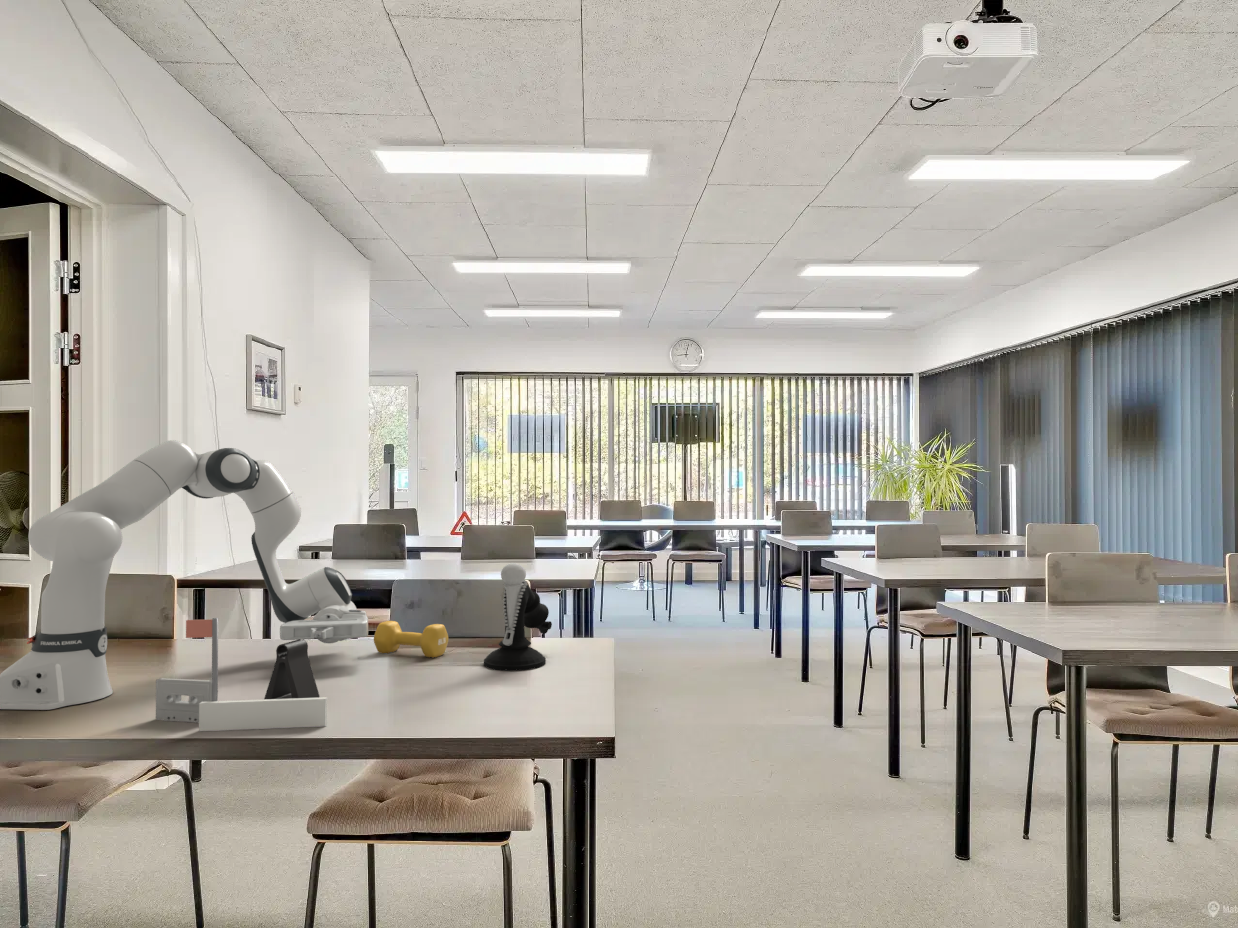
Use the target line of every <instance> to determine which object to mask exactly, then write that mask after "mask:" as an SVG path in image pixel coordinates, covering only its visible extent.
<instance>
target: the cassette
mask: <svg viewBox="0 0 1238 928" xmlns="http://www.w3.org/2000/svg"><path fill="white" fill-rule="evenodd" d="M182 696H188V700H182ZM208 701H212V679H211V680H208V679H207V680H206V679H191V678H190V679H186V678H185V679H184V678H165V677H161V678H158V679H156V681H155V720H156V721H163V722H164V721H165V722H184V723H196V724H197V723H198V724H199V703H201V702H208Z"/></svg>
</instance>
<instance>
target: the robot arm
mask: <svg viewBox="0 0 1238 928" xmlns="http://www.w3.org/2000/svg"><path fill="white" fill-rule="evenodd" d="M181 489H182V490H184V491H186V492H187V493H188V494H190V495H192V496H193V497H196V498H199V499H200V498H201V499H205V500H206V499H213V498H219V497H225V496H228V495H231V494H234V495H237V496H238V497H239V498H240V499H242V501H243V502H244V504H245V505H246V508H247V509H248V511H249V512H250V514H251V515H252V518H253V521H254V532H253V533H252V534H251V537H250V538H251V539H250V540H251V546H252V550H253V553H254V556H255V559H256V562H257V565H258V566H259V570H260V572H261V576H262V578H263V581H264V584H265V586H266V589H267V591H268V595H269V598H270V602H271V605H272V609H273V613H274V615H275V617H276V618H277V619H278V620H279V622H280V623H281V622H282V623H283V624H280V626H279V639H280V640H282V641H295V640H299V639H300V640H303V639H304V640H318V641H319V642H322V643H324V644H334V643H338V642H343V641H346V640H350V639H358V638H367V637H368V635H369V617H368V614H367V612H366V611H365V610H359V609H357V606H356V605H355V603H354V602H353V601H352V597H353V593H352V590H351V587H350V584H349V582H348V581H347V579H346V577H345V576H344V575H343V574H342V572H340V571H338V570H337V569H334V568H332V567H328V566H327V567H326V566H324V567H323V568H321V569H318V570H317V571H314V572H312V573H310V574H308V575H307V576H305V577H302V578H300V579H298V580H297V581H295V582H291V583H287V582H286V581H285V578H284V575H283V572H282V569H281V568H280V567H281V566H280V565H279V561H278V558H277V549H278V548H279V546H280V545H281V544H282V542H283V541H285V539H287V538H288V536H289V535H290V534H292V532H293V531H294V529H296V528H297V525H298V524H299V522H300V519H301V517H302V508H301V505H300V502H299V500H298V498H297V497H296V495H295V493H294V491H293V490H292V488H291V486H290V484H289V483H288V482H287V480H286V478H284V476H283V475H282V473H281V472H280V471H279V470H278V468H276V466H274V464H273V463H271V462H270V461H268V460H265V459H259V460H255V459H253V458H252V457H250V455H248V454H247V453H245V452H244V451H242V450H240V449H238V448H234V447H233V448H232V447H223V448H218V449H217V450H212V451H207V452H205V453H200V454H199V453H196V452H194V451H193V449H192V448H191V447H190V446H189V445H188V444H186V443H184V442H182V441H179V440H175V439H172V440H167V441H164V442H162V443H159V444H158V445H155V446H154V447H152V448H150V449H148V450H146V451H145V452H143V453H142V454H140V455H138V456H136V457H135V458H134V459H132V460H131V461H130V462H129V463H127V464H125V466H123V467H122V468H120V469H119V470H117V471H116V472H114V474H112V475H111V476H110V477H108V478H107V479H105V480H104V481H102V482H101V483H99V484H97V485H96V486H94V487H92V488H91V489H89V490H86V491H85V492H82V493H81V494H80V495H78V496H76V497H74V498H73V499H71V500H69V501H67V502H65V503H64V504H63V505H60V506H59V507H57V508H56V509H54V510H53V511H51V512H49V513H47V514H45V515H43V516H41V517H39V518H38V519H37V520H35V522H33V523H32V525H31V527H30V528H29V531H28V542H29V545H30V547H31V548H32V550H33V551H35V553H36V554H37V555H39V556H40V557H42V558H44V559H45V560H47V561H51V562H52V564H51V565H52V566H51V569H50V574H49V577H48V581H47V583H46V587H45V588H44V590H43V591H42V593H41V604H40V605H41V608H40V610H41V611H40V613H41V614H40V620H41V621H40V632H38V633H36V634H34V635H32V636H31V637H28V638H26V640H27V642H26V644H27V645H29V644H31V649H30V651H29V652H28V653H26V654H25V655H24V656H22V657H21V658H19V659H18V660H16V661H15V662H14V663H13V664H11V665H9V666H8V667H7V668H6V669H5V670H3V671H2V672H1V673H0V710H30V711H31V710H34V711H35V710H36V711H39V710H41V711H46V710H47V711H49V710H55V709H58V708H63V707H67V706H73V705H79V704H84V703H89V702H93V701H97V700H100V699H103V698H107V697H109V696H110V695H112V694H113V693H114V692H113V691H114V690H113V688H112V685H111V682H110V677H109V674H108V668H107V667H108V666H107V660H106V653H107V649H108V628H107V627H106V626H105V613H106V610H105V609H106V590H107V584H108V580H109V576H110V572H111V568H112V564H113V560H114V557H115V556H116V555H117V553H118V552H119V550H120V548H121V546H122V543H123V534H122V530H123V529H125V528H126V527H129V526H130V525H132V524H136V523H138V522H139V521H141V520H143V519H144V518H145V517H146V516H147V515H149V514H151V512H153V511H154V510H155V509H156V508H157V507H159V506H160V505H161V504H163V503H164V502H165V501H166V500H168V499H169V498H170V497H171V496H172V495H174V494H175V493H176V492H177V491H178V490H181ZM313 615H314V617H313V618H312V619H308V618H309V617H311V616H313Z"/></svg>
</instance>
